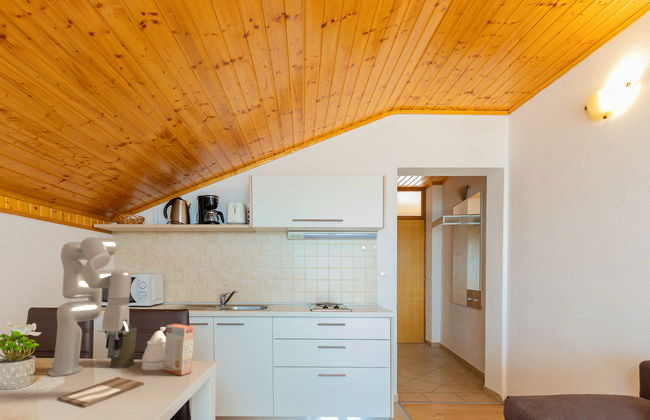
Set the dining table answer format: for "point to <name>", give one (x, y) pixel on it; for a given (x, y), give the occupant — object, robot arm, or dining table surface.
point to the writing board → (100, 392)
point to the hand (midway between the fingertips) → (113, 348)
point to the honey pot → (154, 351)
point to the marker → (112, 346)
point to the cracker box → (178, 349)
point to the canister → (126, 350)
